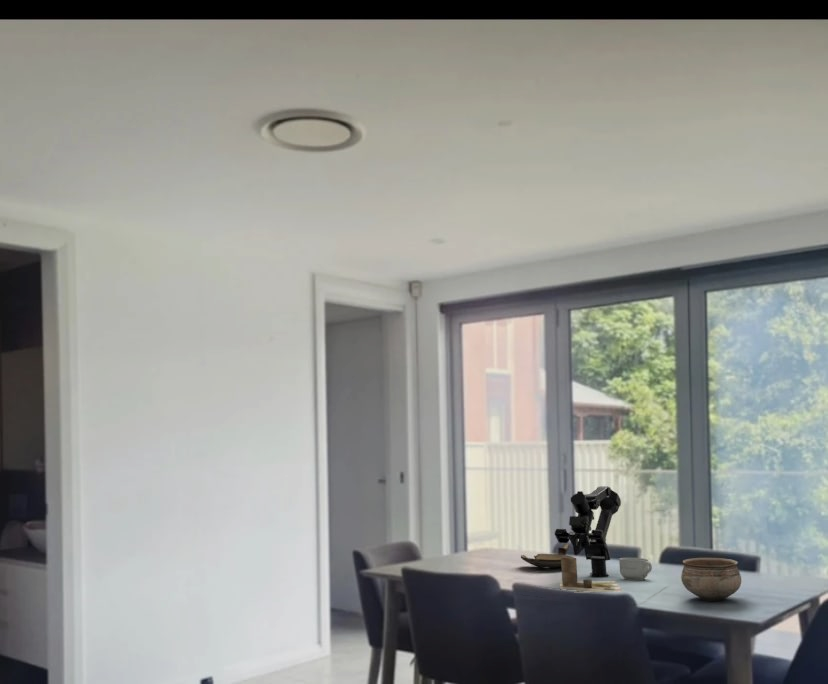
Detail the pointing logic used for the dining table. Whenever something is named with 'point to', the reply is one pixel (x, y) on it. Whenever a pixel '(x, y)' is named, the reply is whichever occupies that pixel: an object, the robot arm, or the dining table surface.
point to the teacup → (634, 568)
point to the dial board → (595, 589)
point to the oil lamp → (548, 558)
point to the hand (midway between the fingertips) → (575, 554)
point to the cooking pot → (711, 577)
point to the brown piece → (575, 575)
